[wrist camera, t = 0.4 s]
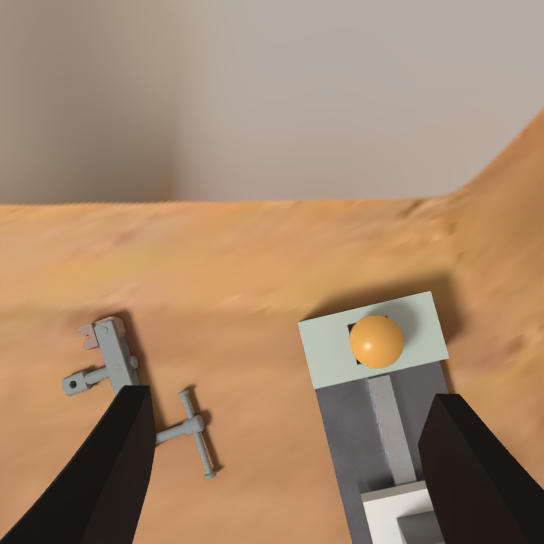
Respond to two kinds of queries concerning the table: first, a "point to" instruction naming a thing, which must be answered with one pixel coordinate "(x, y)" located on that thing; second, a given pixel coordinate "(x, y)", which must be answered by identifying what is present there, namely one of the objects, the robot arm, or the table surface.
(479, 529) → the robot arm
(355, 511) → the rail
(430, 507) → the carriage
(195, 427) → the clamp
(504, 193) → the table surface
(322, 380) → the end cabinet
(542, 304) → the table surface
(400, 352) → the plunger
